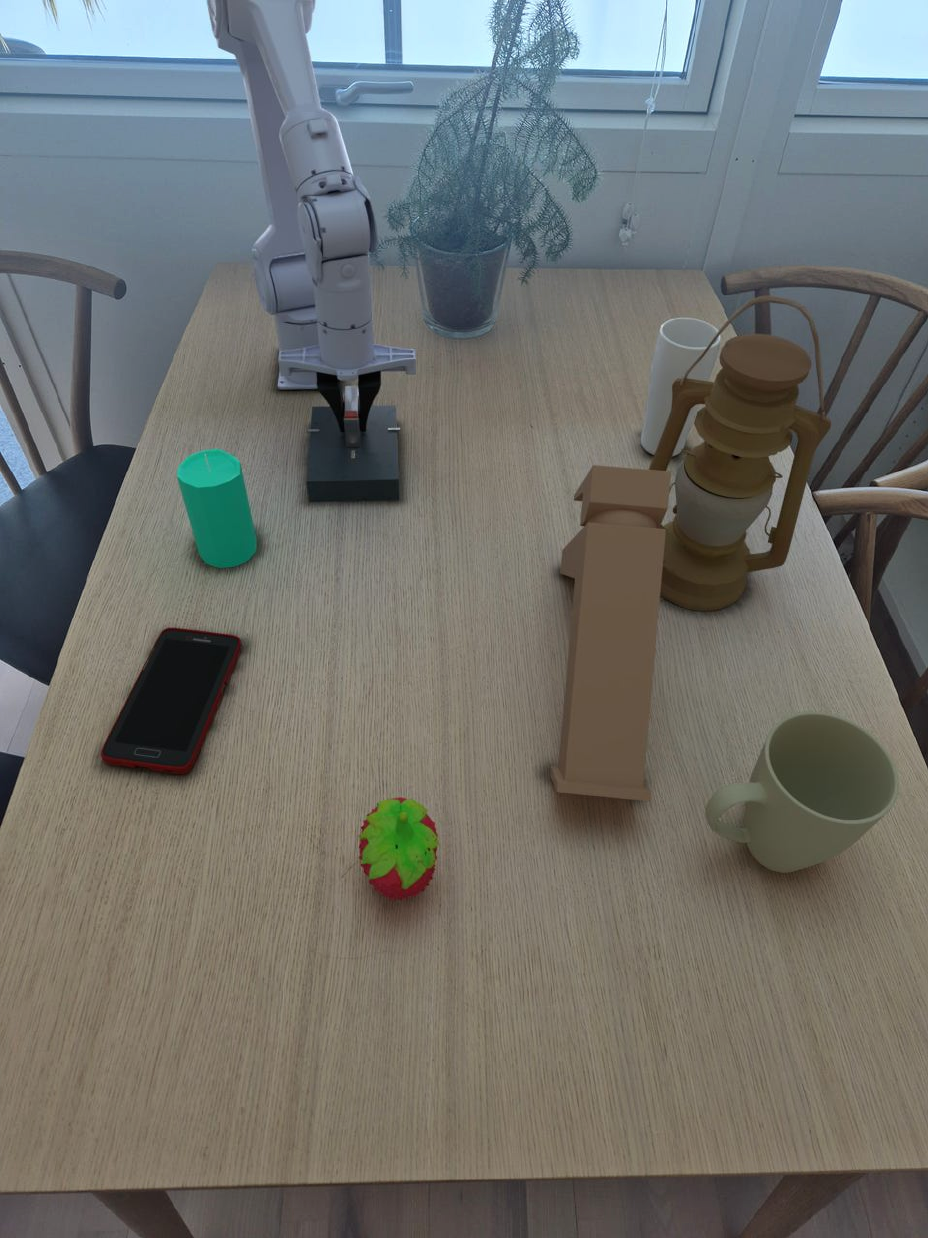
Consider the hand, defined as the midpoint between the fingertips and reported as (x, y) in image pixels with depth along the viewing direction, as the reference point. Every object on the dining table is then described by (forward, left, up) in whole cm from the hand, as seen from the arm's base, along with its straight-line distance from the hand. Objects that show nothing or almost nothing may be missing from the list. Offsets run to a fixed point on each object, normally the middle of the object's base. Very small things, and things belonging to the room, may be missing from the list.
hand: (353, 426), depth 95 cm
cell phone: (+35, -15, -4) cm, 39 cm away
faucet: (+35, +22, -4) cm, 41 cm away
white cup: (0, +37, -4) cm, 37 cm away
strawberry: (+53, +4, -4) cm, 53 cm away
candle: (+16, -13, -4) cm, 21 cm away
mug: (+52, +33, -4) cm, 62 cm away
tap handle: (0, 0, -1) cm, 1 cm away
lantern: (+22, +35, -4) cm, 42 cm away
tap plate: (+2, 0, -4) cm, 4 cm away
